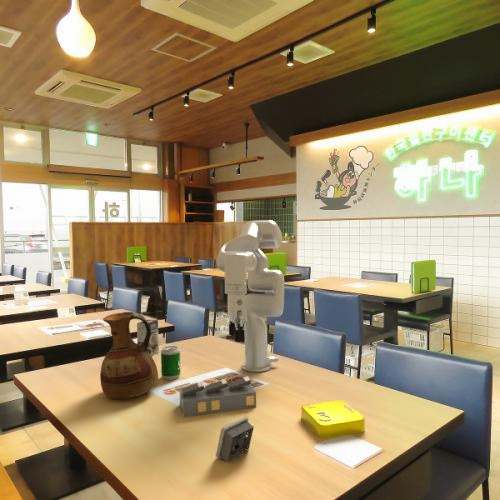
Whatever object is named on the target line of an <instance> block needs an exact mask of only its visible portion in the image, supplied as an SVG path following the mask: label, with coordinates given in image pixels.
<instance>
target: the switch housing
mask: <svg viewBox="0 0 500 500" xmlns="http://www.w3.org/2000/svg"><path fill="white" fill-rule="evenodd" d="M204 389H205V390H202V391H199V392H196V393H193V394H190V395H187V396H183V393H182V389H179V406H180V408H181V412H182V416H183V418H187V417H193V416H200V415H201V416H202V415H206V414H207V415H208V414H215V413H221V412H229V411H235V410H236V411H237V410H243V409H250V408H256V407H257V392H256V390H255V389H254V387H252V385H251V384H249V385H246V386H244V387H241V388H238V389H235V390H231V388H230V387H229V384H228V387H226V388H223V389H220V390H217V391H214V392H211V393H208V392H207V390H206V387H205V386H204Z"/></svg>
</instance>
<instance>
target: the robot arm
mask: <svg viewBox="0 0 500 500" xmlns="http://www.w3.org/2000/svg"><path fill="white" fill-rule="evenodd" d="M282 233H283V232H282V231H281V229H280V227H279V224H278V223H277V222H275V221H273V220H271V219H269V220H268V219H267V220H263V219H262V220H261V219H260V220H250V221H248V222H246V223H245V224H244V225H243V228H242V230H241V231H240V234H239V236H237V237H235V238H233V239H231V240H228V241H227V242H225V243H224V244H223V245H222V246H221V248H220V250H219V253H218V255H217V258H216V266H217V267H216V268H217V269H218V270H219V271H221V272H223V273H224V294H226V295H227V318H228V335H229V336H234V342H235V343H241V342H244V360H245V361H244V362H243V363H242V364H241V369H242V370H244V371H246V372H250V373H261V372H266V371H269V370H270V369H272V363H278V362H279V357H278V356H276V357H274V356H269V355H268V326H267V323H266V321H265V320H264V319H263V318H262V317H266V318H267V317H269V318H277V317H278V318H279V317H281V316H282V315H283V312H284V308H285V307H284V306H285V305H284V304H285V276H284V273H283V272H282V271H281V270H279V269H269V259H268V257H267V256H266V254H265V253H264V252H263V251H262V250H261V249H278V248H280V247H281V246H282V244H283V234H282ZM247 287H248V289H249V290H250V291H252V292H258V293H248V292H247V291H248V289H247Z"/></svg>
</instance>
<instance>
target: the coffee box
mask: <svg viewBox="0 0 500 500" xmlns="http://www.w3.org/2000/svg"><path fill="white" fill-rule="evenodd" d="M146 320H147V322H148V324H149V326H150V339H149V344H148V352H149V354H150V355H151V356H152V357H153V356H155V355H157V354H159V353H160V351H159V320H158V319H146ZM136 334H137V335H136V338H137V339H136V340H137V341H136V342H137V344H142V343H143V342H144V339H145V336H146V327H145V324H144V323H143V322H142V321H139V322H136Z"/></svg>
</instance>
